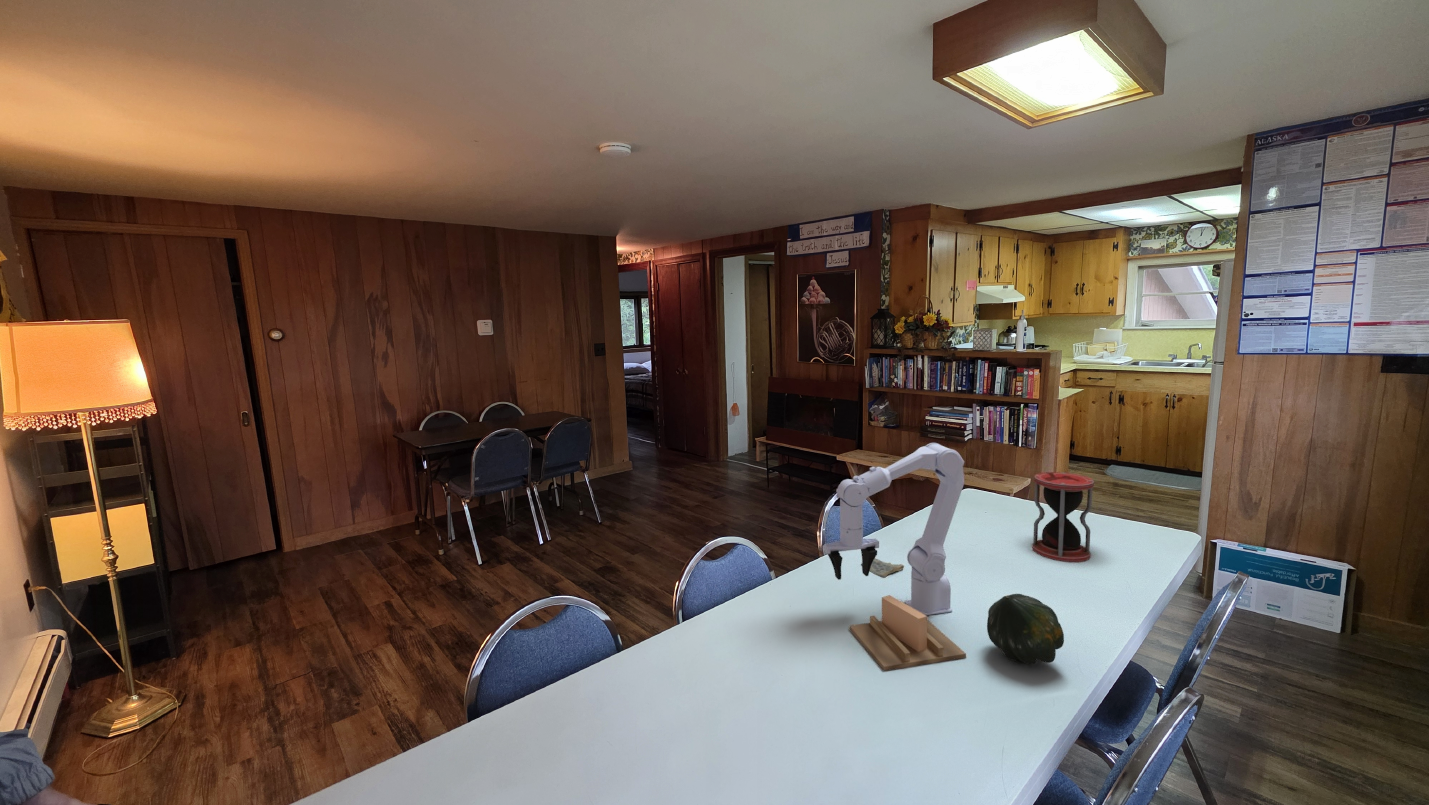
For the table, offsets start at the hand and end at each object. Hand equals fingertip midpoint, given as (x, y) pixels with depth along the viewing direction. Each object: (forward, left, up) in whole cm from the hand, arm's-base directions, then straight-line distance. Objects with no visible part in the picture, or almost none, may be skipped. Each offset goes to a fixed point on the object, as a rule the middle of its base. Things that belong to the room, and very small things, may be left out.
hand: (851, 576), depth 147 cm
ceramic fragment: (-26, -24, -10) cm, 37 cm away
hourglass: (-81, -19, -11) cm, 84 cm away
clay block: (-6, +16, -9) cm, 19 cm away
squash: (-28, +28, -11) cm, 41 cm away
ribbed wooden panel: (-6, +16, -10) cm, 20 cm away
